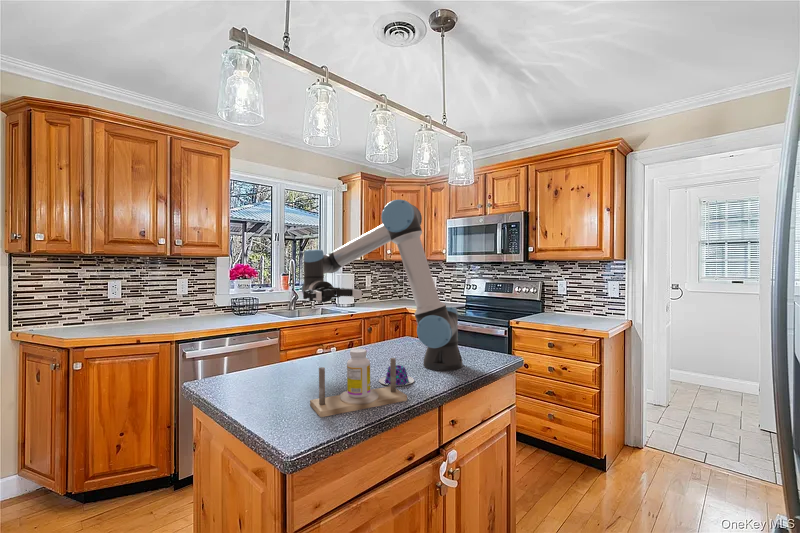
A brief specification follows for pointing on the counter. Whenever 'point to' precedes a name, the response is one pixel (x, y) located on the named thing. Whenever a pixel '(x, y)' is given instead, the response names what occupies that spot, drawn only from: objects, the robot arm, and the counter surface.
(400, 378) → the pudding
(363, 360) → the supplement bottle
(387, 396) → the board
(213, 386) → the counter surface
